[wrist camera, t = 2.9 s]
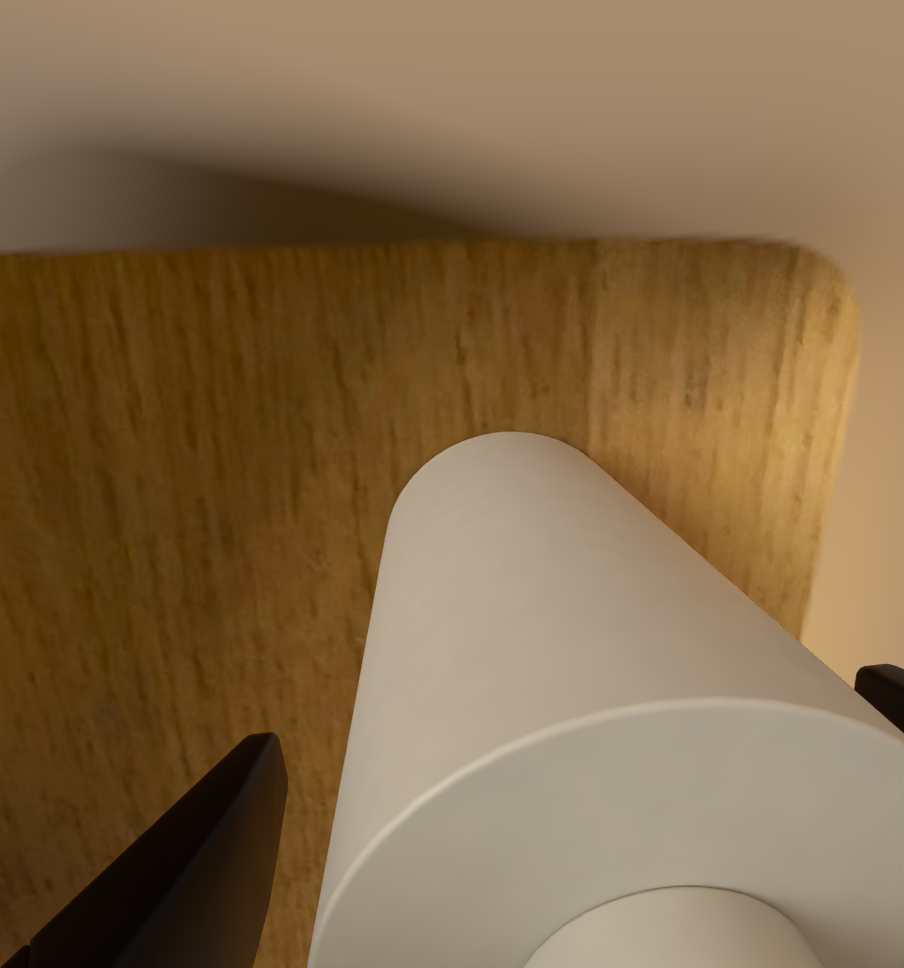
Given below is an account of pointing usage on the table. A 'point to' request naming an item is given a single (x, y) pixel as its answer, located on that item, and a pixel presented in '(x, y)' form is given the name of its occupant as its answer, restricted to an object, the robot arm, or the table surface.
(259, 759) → the robot arm
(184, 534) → the table surface
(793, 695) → the cream bottle
